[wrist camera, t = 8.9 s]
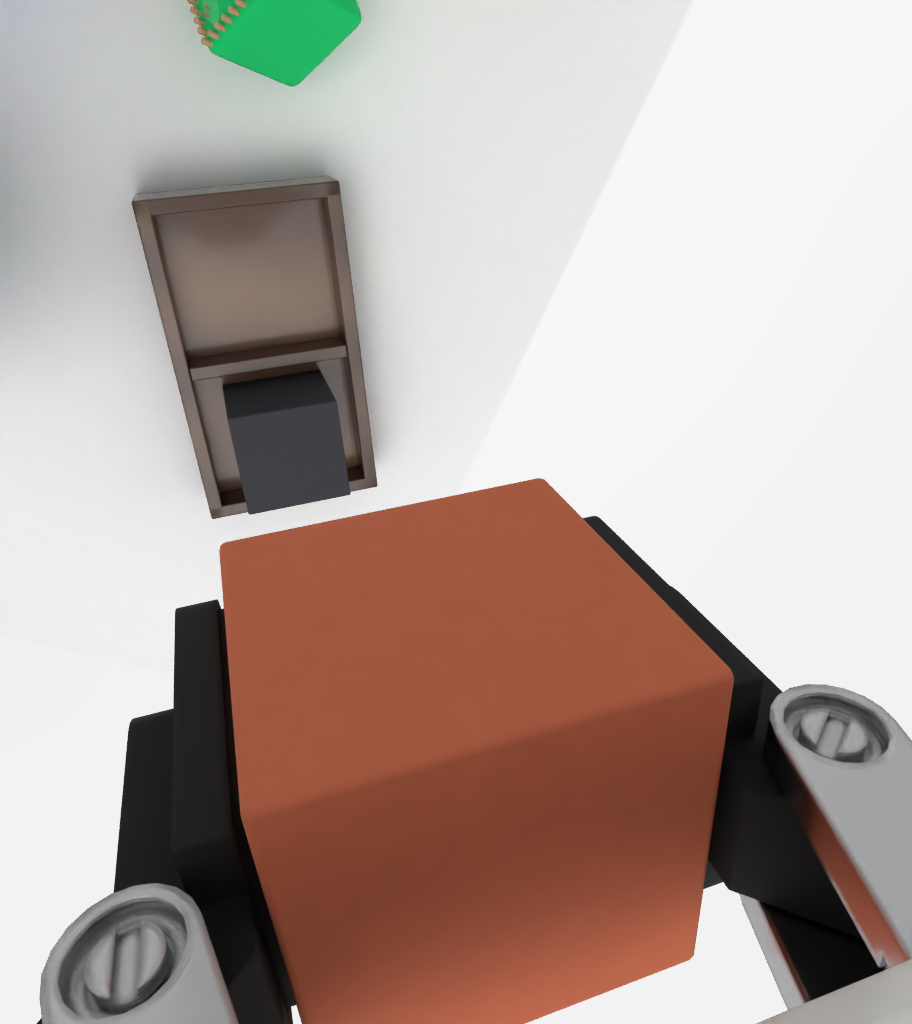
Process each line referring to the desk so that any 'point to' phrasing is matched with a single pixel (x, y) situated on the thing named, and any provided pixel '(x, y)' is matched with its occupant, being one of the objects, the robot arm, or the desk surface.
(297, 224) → the divided wooden tray
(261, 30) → the building blocks
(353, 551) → the orange cube
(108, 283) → the desk surface
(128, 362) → the desk surface
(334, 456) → the charcoal cube
